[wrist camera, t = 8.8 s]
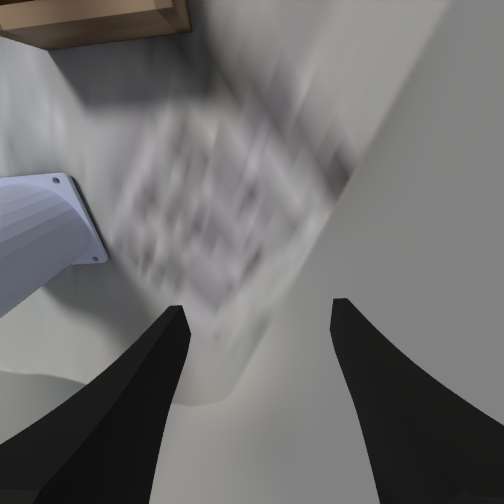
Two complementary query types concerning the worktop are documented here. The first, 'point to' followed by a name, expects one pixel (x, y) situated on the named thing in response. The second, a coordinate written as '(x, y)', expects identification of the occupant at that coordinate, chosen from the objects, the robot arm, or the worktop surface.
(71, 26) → the big crate
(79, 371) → the worktop surface
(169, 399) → the robot arm
